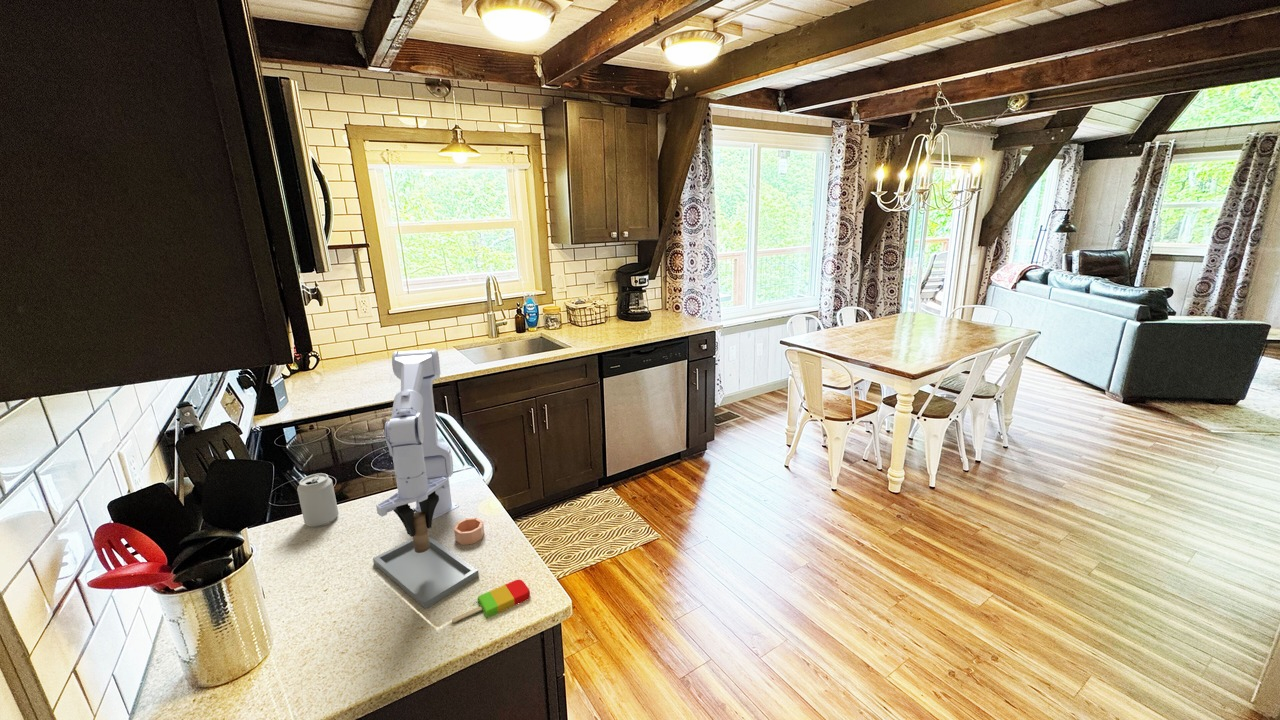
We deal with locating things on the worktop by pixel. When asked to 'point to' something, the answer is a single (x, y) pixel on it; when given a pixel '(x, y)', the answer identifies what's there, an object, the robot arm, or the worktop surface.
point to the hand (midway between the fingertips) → (419, 530)
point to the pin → (420, 533)
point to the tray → (425, 571)
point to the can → (317, 500)
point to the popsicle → (499, 599)
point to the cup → (469, 531)
